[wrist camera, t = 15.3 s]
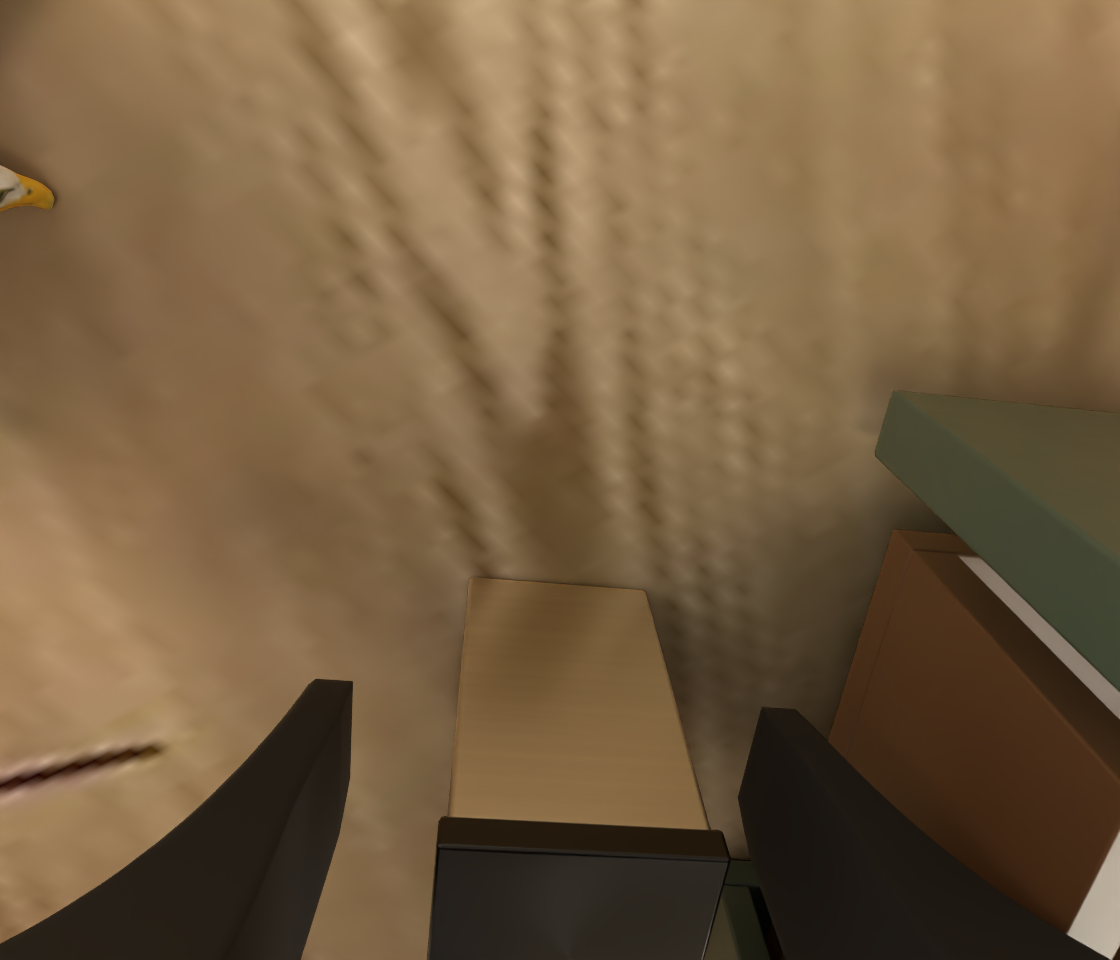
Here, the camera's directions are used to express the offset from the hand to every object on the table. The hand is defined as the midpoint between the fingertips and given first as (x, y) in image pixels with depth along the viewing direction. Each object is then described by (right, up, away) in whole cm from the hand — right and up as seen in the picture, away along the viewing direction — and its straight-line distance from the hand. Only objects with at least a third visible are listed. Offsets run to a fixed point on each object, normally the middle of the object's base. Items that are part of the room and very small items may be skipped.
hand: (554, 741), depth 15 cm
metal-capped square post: (0, +1, +2) cm, 2 cm away
